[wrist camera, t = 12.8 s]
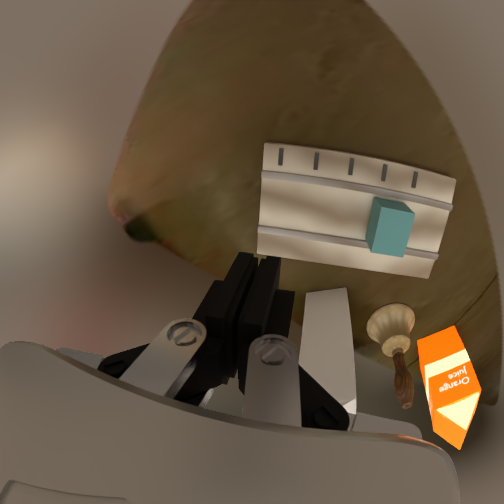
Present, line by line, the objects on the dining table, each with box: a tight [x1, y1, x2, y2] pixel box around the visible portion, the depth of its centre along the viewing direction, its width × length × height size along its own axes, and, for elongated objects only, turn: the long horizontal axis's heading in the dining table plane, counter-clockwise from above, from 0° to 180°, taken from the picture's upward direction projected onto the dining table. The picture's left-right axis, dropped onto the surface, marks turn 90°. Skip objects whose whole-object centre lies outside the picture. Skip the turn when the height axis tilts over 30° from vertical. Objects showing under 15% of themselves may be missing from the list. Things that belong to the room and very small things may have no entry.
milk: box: [299, 287, 356, 414], centre depth 30 cm, size 6×6×22 cm
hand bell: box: [367, 303, 415, 409], centre depth 31 cm, size 8×8×16 cm
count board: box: [257, 142, 456, 279], centre depth 31 cm, size 14×24×3 cm, turn 87°
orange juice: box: [417, 326, 481, 450], centre depth 30 cm, size 8×9×20 cm
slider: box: [365, 197, 415, 258], centre depth 28 cm, size 5×4×4 cm
